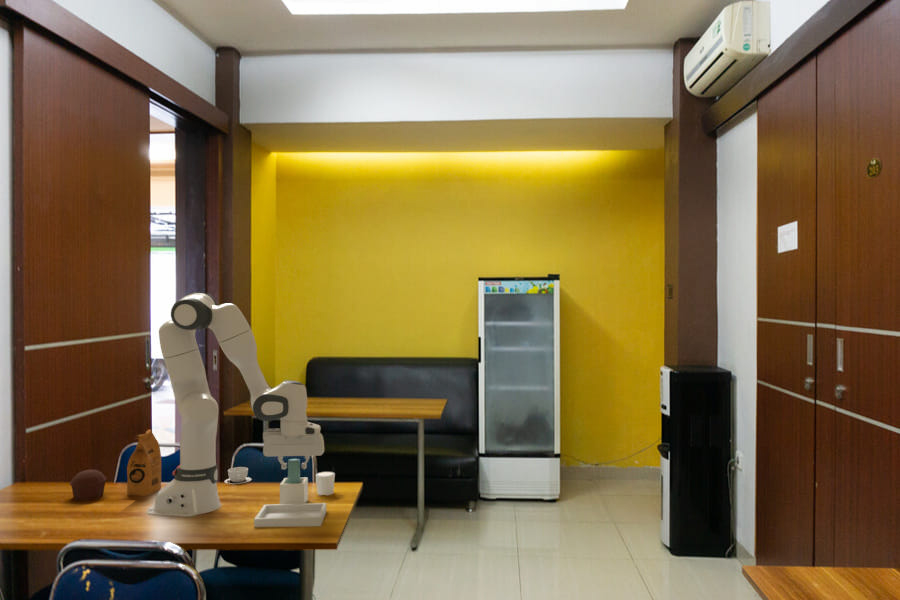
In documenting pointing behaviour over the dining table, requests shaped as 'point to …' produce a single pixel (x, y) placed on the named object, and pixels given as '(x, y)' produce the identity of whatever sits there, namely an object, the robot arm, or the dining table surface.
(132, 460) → the coffee package
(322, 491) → the tan cylinder
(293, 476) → the dowel
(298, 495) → the deep box
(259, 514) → the tray
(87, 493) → the muffin
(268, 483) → the dining table surface
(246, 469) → the teacup
